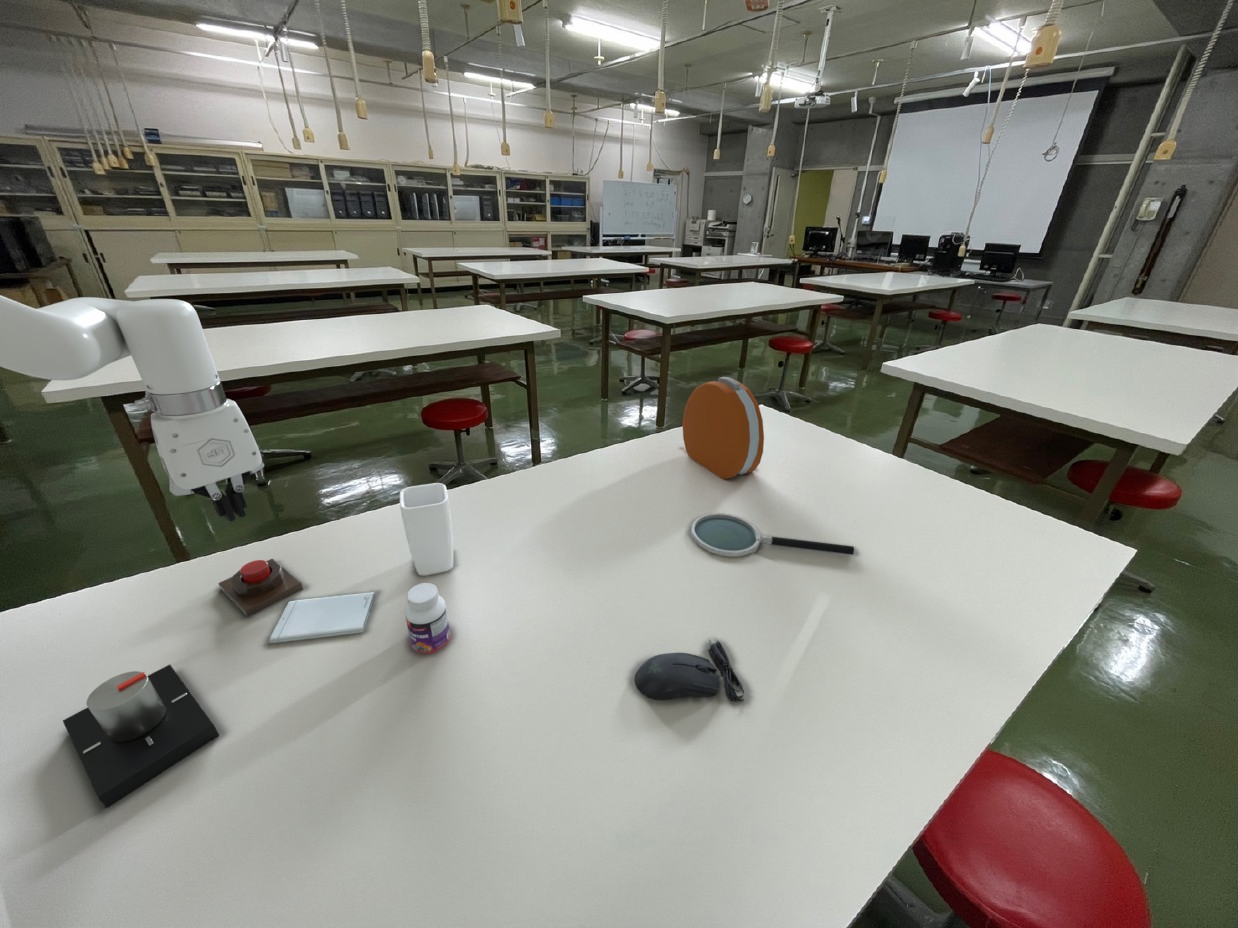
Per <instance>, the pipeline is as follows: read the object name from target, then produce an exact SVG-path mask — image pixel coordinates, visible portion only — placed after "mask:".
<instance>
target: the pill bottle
mask: <svg viewBox="0 0 1238 928" xmlns="http://www.w3.org/2000/svg"><path fill="white" fill-rule="evenodd" d="M406 599H407V604H406V606H405V609H404V616H405V621H406V626H407V631H408V636H409V640H410V645H411V647H412V649H413V650H414V651H415V652H417V653H420V654H430V653H434V652H437V651H439V650H441V649H442V648H444V647H445V646H446V645H447V644H448V642H449V641H450V640H451V639H450V638H451V631H450V624H449V617H448V612H447V605H446V601H445V600H444V598H443V597H442V596H441V595H440V594H439V591H438V587H437V586H436V585H435V584H433V583H430V582H422V583H418V584H416V585H414V586H413V587H411V588H410V589H409V590H408V592H407V593H406Z"/></svg>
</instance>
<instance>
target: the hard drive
mask: <svg viewBox="0 0 1238 928" xmlns="http://www.w3.org/2000/svg"><path fill="white" fill-rule="evenodd" d="M375 598H376V592H375V591H373V592H372V591H371V592H363V593H362V592H361V593H353V594H343V595H334V596H324V597H316V598H306V599H297V600H290V601H288V603H287V604H286V606H285V608H284V610H283V612H282V614H281V615H280V618H279V619H278V621H277V623H276V625H275V627H274V629H273V631H272V633H271V635H270V636H269V639H268V643H269V644H275V643H283V642H292V641H293V642H294V641H301V640H308V639H317V638H325V637H326V638H327V637H334V636H343V635H351V634H359V633H364V631H365V629H366V625H367V622H368V619H369V616H370V613H371V610H372V606H373V604H374V601H375Z"/></svg>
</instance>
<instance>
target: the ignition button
mask: <svg viewBox="0 0 1238 928" xmlns="http://www.w3.org/2000/svg"><path fill="white" fill-rule="evenodd" d="M266 561H267V560H265V559H256V560H252V561H249V562H248V563H246V564H244V565H243V566H241V568H240V569H239V570H240V573H241V575H242V578H243V580H244V582H246V583H253V582H258V581H260V580H262V579H265V578H267V577H268V576H269V574H270V569H269V566H268V563H267V562H266Z"/></svg>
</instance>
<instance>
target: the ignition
mask: <svg viewBox="0 0 1238 928" xmlns="http://www.w3.org/2000/svg"><path fill="white" fill-rule="evenodd" d="M265 561H266V562H267V563H268V566H269V569H270V574H269V576H268V577H267V578H265V579H262V580H260V581H258V582H253V583H246V582H244V580H243V578H242V575H241V573H240V569H239V570H238V571H237V572H236V573H234V574H233V575H232V576H231V577H228V578H226V579H224V580H222V581H220V582H218V583H217V584H218V587H219V589H220V590H221V591H222V593H223V594H224V595H225V596H226V597H227V598H228V599H229V600H230V601H231V602H232V603H233V604H234V605H235V606H236V607H237V608H238V609H239V610H240V611H241V612H242V613H243V614H244V615H245V616H246V617H247V618H249V617H251V616H253V615H255V614H258V613H259V612H262V611H263V610H266V609H267V608H269V607H271V606H273V605H275V604H276V603H279V602H281V601H283V600H284V599H287V598H288V597H291V596H292V595H294V594H296V593H298V592H300V591H302V590H304V587H303V584H302V582H301V581H300V580H299V579H298V578H296V577H295V576H294V575H293V574H291V573H290V572H289V571H288V570H287V569H286V568H284V567H283V566H282V565H281V564H280V563H279V562H277V561H276V560H275V559H274V558H270V559H268V560H265Z"/></svg>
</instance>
